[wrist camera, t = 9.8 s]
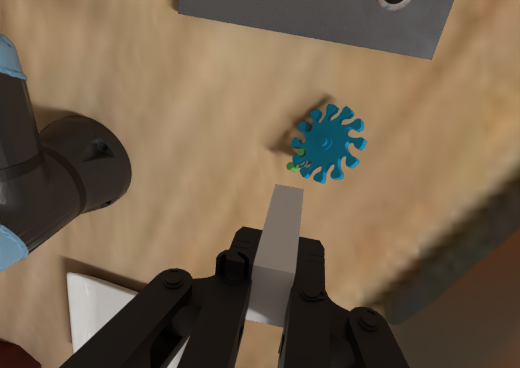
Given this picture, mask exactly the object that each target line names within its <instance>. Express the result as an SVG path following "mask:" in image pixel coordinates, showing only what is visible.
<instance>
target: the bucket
mask: <svg viewBox="0 0 520 368" xmlns="http://www.w3.org/2000/svg"><path fill="white" fill-rule="evenodd" d="M0 368H41V364H40V363H39V362H38V361H36V360H35V359H34V358H33V357H32V356H31V355H30V354H28V353H27V352H26V351H25V350H24V349H23V348H21V347H20V346H19V345H15V344H11V343H7V342H3V341H0Z"/></svg>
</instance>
